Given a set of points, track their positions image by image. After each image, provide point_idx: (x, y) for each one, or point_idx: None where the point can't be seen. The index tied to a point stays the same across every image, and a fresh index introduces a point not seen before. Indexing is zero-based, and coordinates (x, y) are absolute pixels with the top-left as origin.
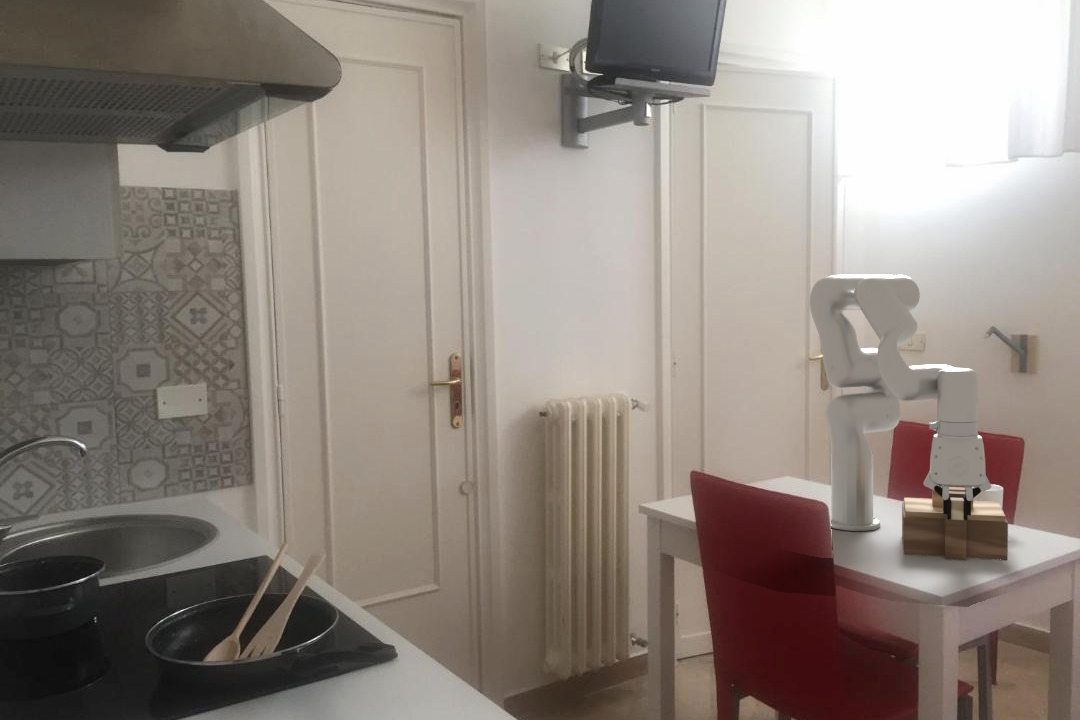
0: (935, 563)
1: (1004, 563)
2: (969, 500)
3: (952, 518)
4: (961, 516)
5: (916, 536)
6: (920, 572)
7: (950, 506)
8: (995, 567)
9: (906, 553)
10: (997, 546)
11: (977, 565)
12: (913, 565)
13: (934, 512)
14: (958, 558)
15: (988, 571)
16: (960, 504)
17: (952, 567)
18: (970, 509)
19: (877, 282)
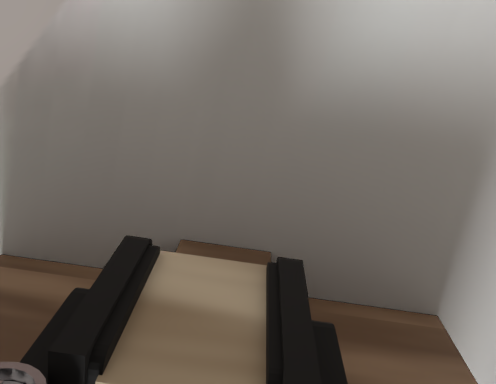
0: (331, 184)
1: (18, 213)
2: (16, 367)
3: (255, 266)
4: (173, 267)
5: (407, 366)
6: (452, 18)
7: (279, 332)
8: (65, 147)
9: (426, 315)
10: (11, 293)
11: (142, 171)
12: (449, 141)
13: None
14: (212, 247)
15: (106, 76)
16: (155, 349)
17: (265, 126)
18: (59, 314)
19: None
